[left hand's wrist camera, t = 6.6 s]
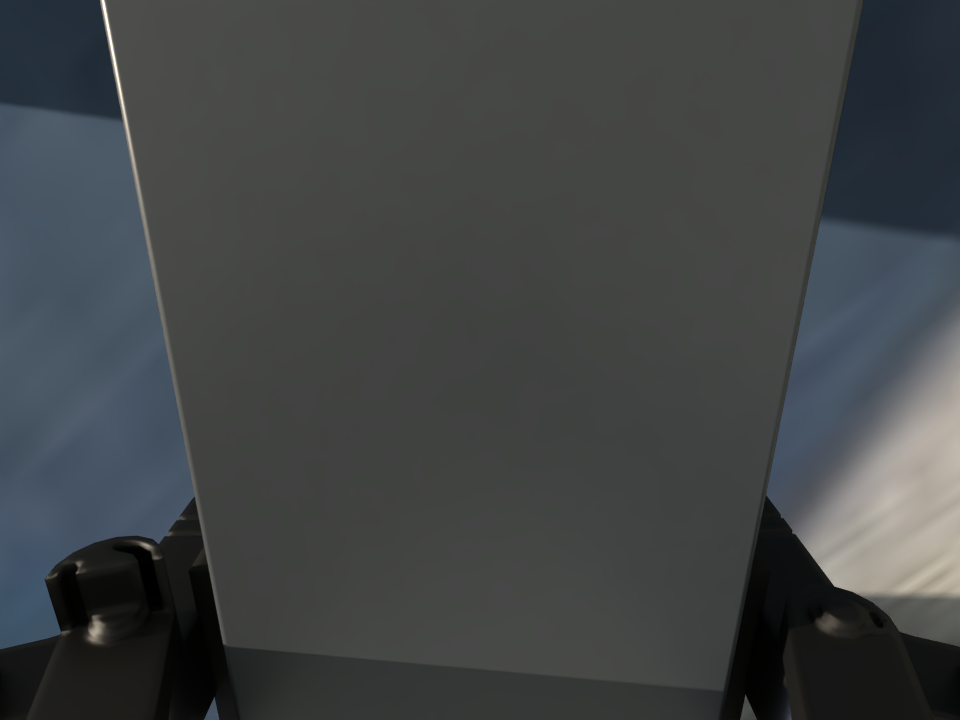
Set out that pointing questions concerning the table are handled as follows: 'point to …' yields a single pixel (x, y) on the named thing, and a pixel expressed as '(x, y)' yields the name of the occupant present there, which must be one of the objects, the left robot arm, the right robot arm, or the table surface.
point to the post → (480, 333)
